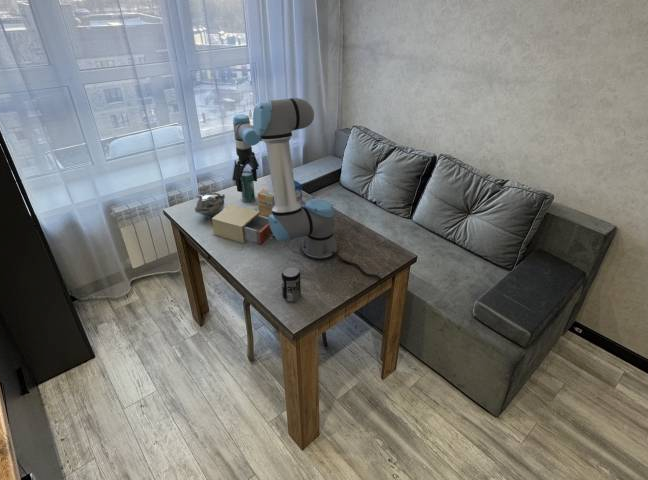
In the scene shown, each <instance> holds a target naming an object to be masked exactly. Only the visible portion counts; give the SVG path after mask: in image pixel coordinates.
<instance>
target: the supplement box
mask: <svg viewBox="0 0 648 480" xmlns="http://www.w3.org/2000/svg"><path fill="white" fill-rule="evenodd" d="M257 205H258V206H257V207H258V211H259V212H260V216H264V217H269V215H271V214H272V208H273V207H274V205H275V201H274V194H273V191H270V190H266V189H264V188H263V189H261V190H260V191H258V193H257Z"/></svg>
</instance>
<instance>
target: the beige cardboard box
mask: <svg viewBox="0 0 648 480" xmlns="http://www.w3.org/2000/svg"><path fill="white" fill-rule="evenodd" d="M257 215H260V212H259V210H255V209H251V208H247V207H243V206H239V205H235V204H232V203H230V204H229V205H228V206H227V207H224V209H223V210H222V211H221V212H220V213H218V214H217V215H213V216H212V219H211V223H212V230H213V235H214V236H218V237H221V238H225V239H228V240H231V241H234V242H238V243H241V244H244V243H245V242H247V240H246V239H244V233H243V227H244V226H245V225H246V224H247V223H249V222H250V221H251V220H252V219H253V218H254V217H256V216H257Z"/></svg>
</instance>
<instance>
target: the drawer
mask: <svg viewBox="0 0 648 480" xmlns="http://www.w3.org/2000/svg"><path fill="white" fill-rule="evenodd" d="M243 233H244V239H246V241H248V242H252V243H256V244H258V245H259V246H263V245H264V244H265V243H266V242H267V241H268V240H269V239H270V238H272V239H273V240H277V239H276V238H275V236H274V235H273V233H272V231H271V228H270V225H269V221H268V217H264V216H260V215H257V216H256V217H254V218H253V219H252V220H251V221H250V222H249V223H247V224H246V225H245V226H244V227H243Z"/></svg>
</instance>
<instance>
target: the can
mask: <svg viewBox="0 0 648 480" xmlns="http://www.w3.org/2000/svg"><path fill="white" fill-rule="evenodd" d="M240 180H242V190H243V192H241V199H242V201H243V203H253V202H254V201H255V199H256V197H255V196H256V195H255V184H254V182H255V181H253V173H252V172H251V170H250V171H249V170H243V173H242V176H241V179H240Z"/></svg>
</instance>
